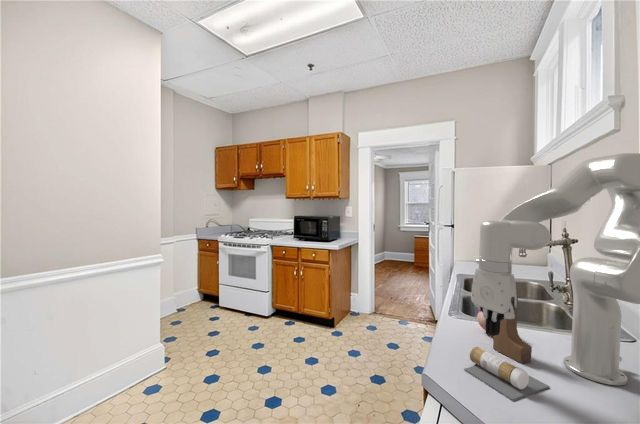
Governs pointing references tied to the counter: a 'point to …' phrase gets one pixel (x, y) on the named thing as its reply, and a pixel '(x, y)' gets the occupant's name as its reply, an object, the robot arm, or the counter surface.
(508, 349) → the wooden block
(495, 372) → the sprinkles bottle
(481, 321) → the decorative fruit
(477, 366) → the mat
